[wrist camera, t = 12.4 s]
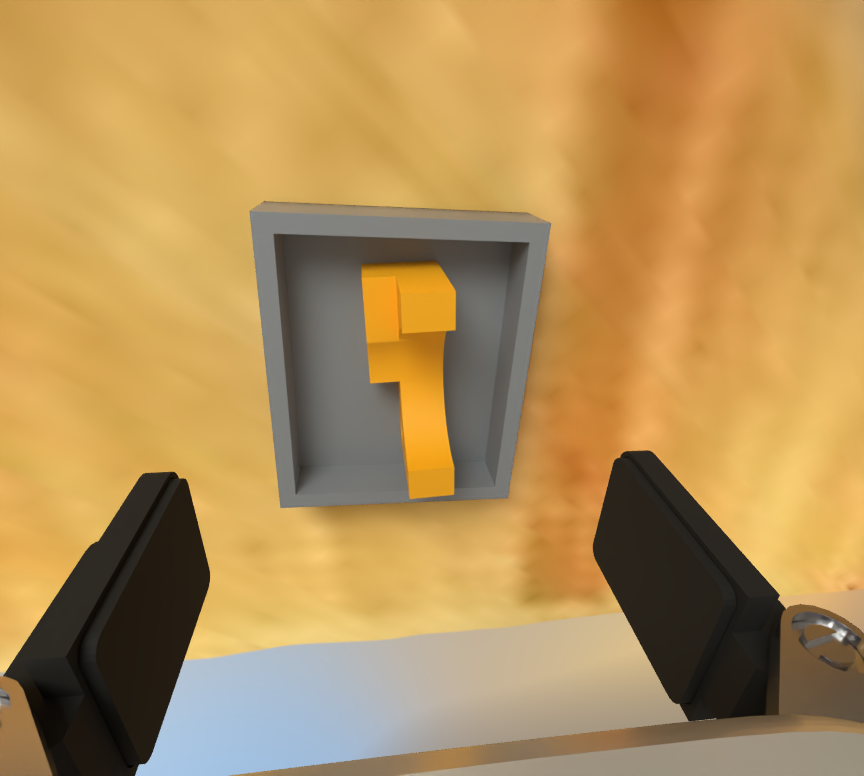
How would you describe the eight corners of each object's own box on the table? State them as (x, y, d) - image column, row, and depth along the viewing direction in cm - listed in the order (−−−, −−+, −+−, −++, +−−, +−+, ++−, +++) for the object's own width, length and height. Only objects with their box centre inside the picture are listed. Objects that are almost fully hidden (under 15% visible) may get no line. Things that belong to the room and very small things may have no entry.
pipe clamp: (361, 263, 28) (362, 295, 22) (436, 260, 29) (455, 290, 23) (375, 440, 34) (378, 502, 28) (438, 434, 34) (454, 494, 28)
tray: (527, 212, 29) (551, 223, 25) (493, 463, 37) (507, 498, 33) (264, 201, 27) (249, 211, 23) (288, 470, 35) (280, 507, 31)
